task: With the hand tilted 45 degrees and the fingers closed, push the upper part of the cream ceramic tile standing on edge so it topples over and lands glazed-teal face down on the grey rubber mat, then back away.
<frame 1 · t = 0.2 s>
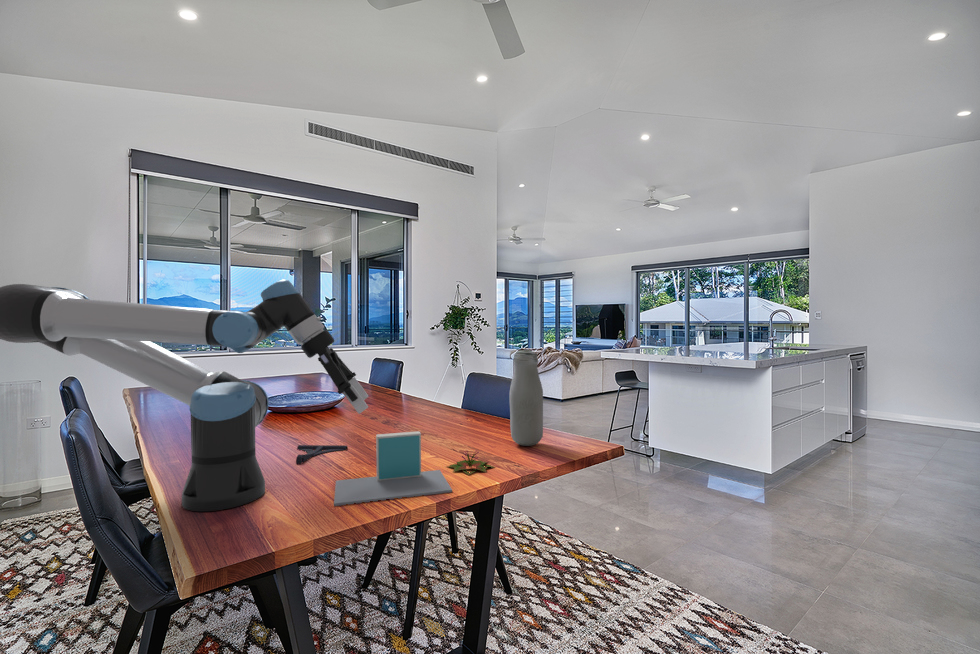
hand: (364, 404, 117), 16 cm above the table, tool tilted 35°, fingers open, 13 cm apart
bracket: (311, 458, 127), on the table
grey bottle: (526, 445, 136), on the table
lily flower: (470, 470, 115), on the table
tile: (398, 476, 107), resting on mat
mat: (392, 487, 102), on the table
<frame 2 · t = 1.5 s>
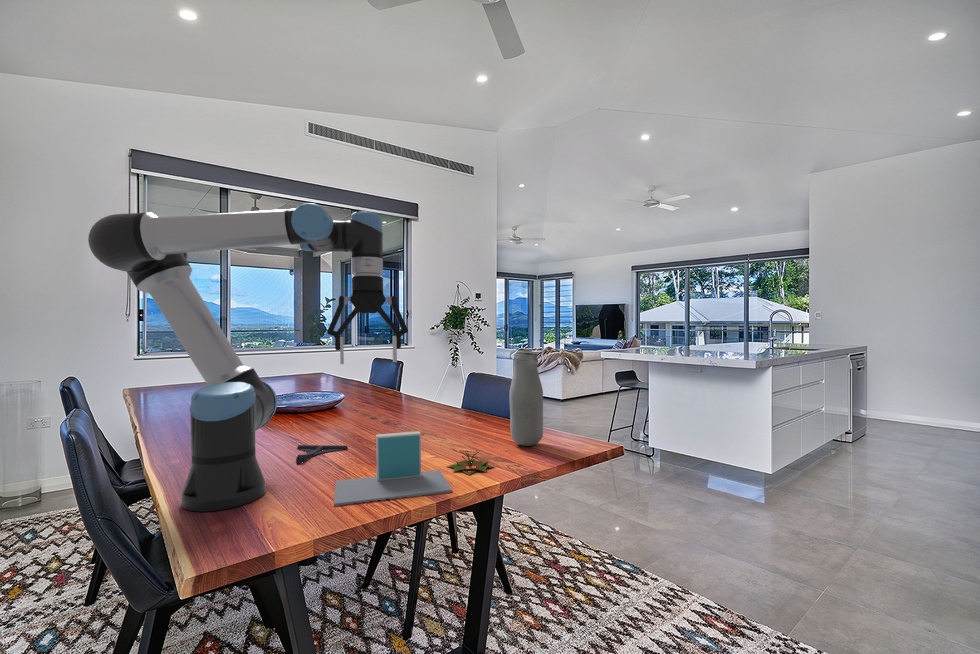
hand: (368, 362, 115), 26 cm above the table, tool pointing down, fingers open, 12 cm apart
nothing on the table moved.
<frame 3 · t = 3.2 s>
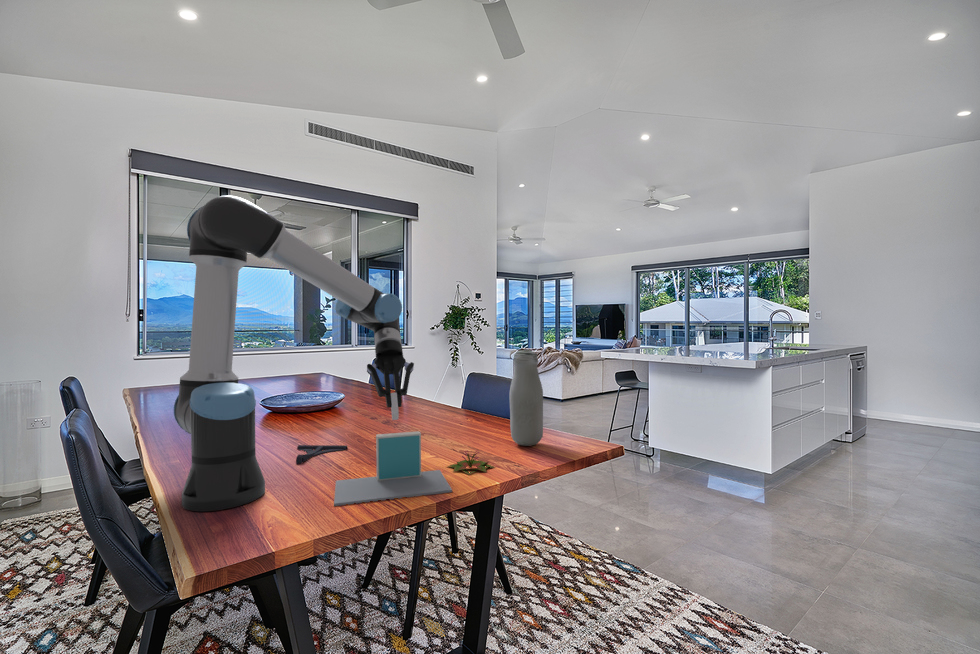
hand: (395, 416, 116), 13 cm above the table, tool tilted 45°, fingers closed
nothing on the table moved.
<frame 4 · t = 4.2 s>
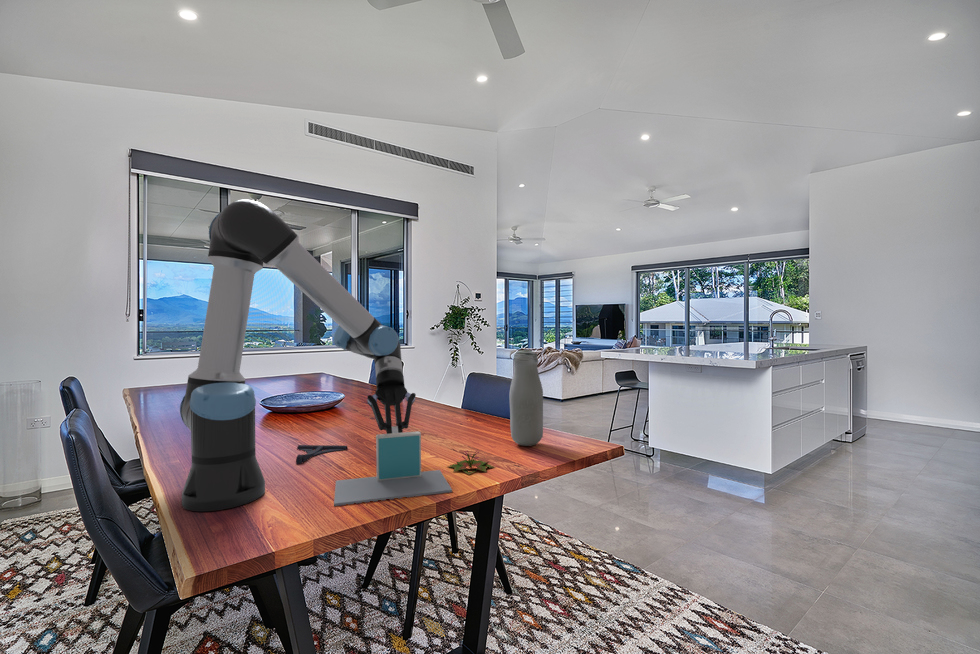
hand: (396, 452, 113), 5 cm above the table, tool tilted 45°, fingers closed
nothing on the table moved.
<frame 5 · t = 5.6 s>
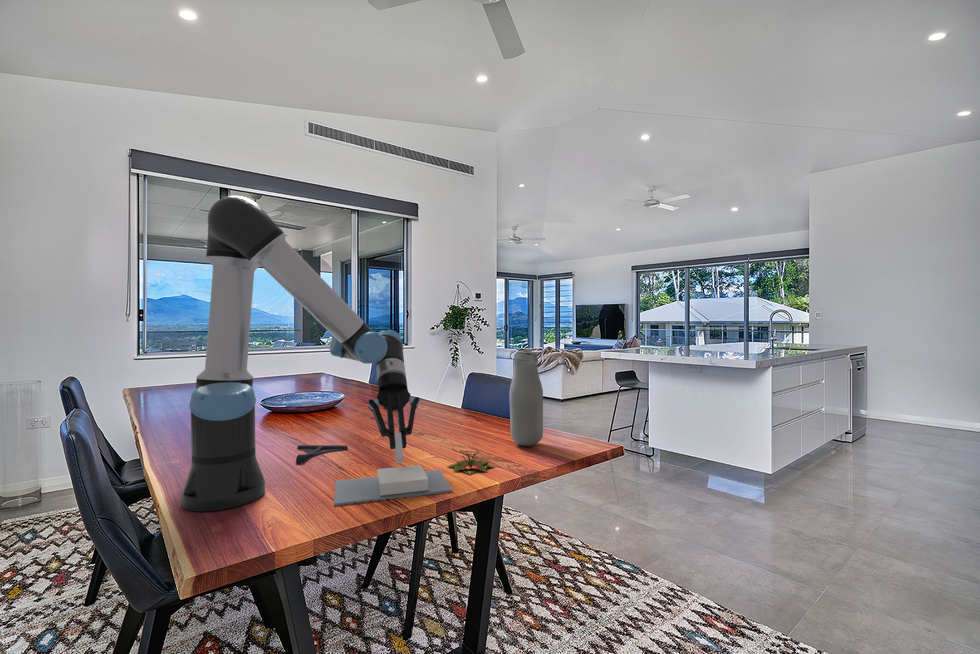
hand: (399, 460, 106), 5 cm above the table, tool tilted 45°, fingers closed
tile: (399, 472, 106), point 2 cm above the table, tilted 90°, touching mat
everything else where it was.
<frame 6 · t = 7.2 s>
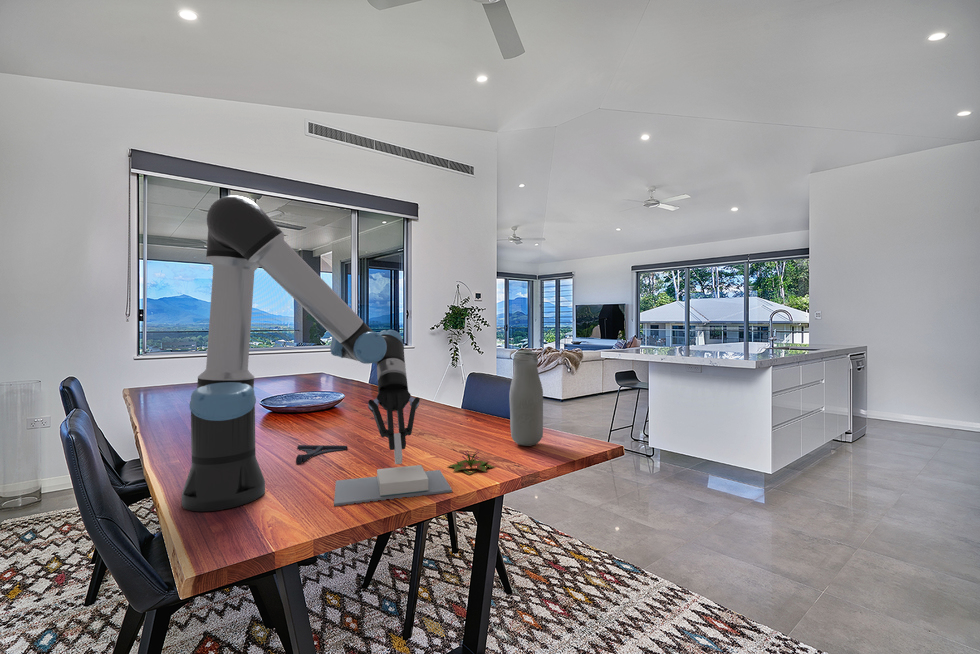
hand: (398, 461, 105), 5 cm above the table, tool tilted 45°, fingers closed
nothing on the table moved.
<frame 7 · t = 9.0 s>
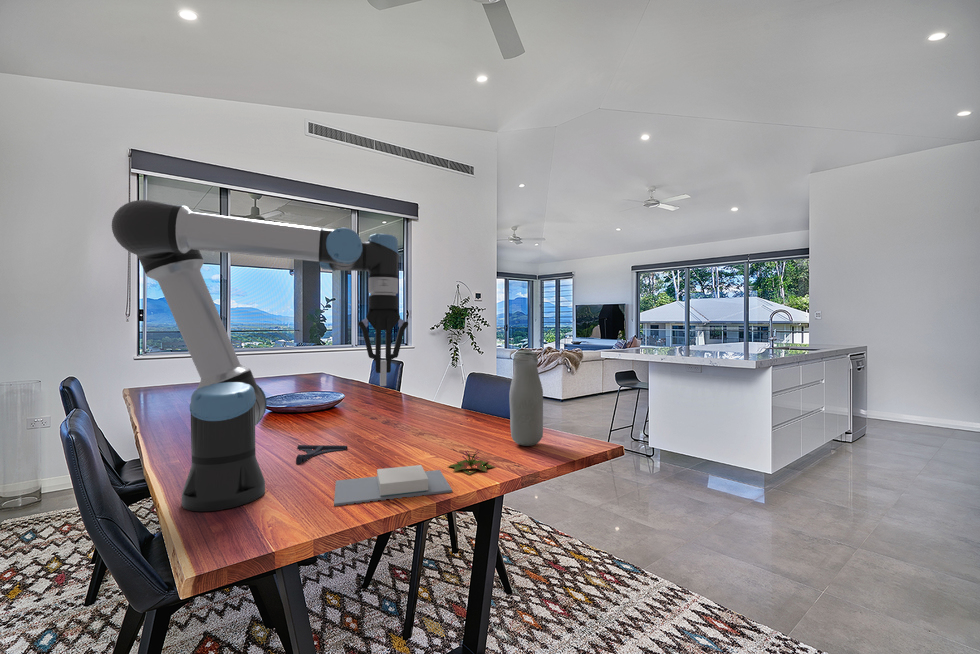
hand: (383, 385, 120), 20 cm above the table, tool pointing down, fingers closed
nothing on the table moved.
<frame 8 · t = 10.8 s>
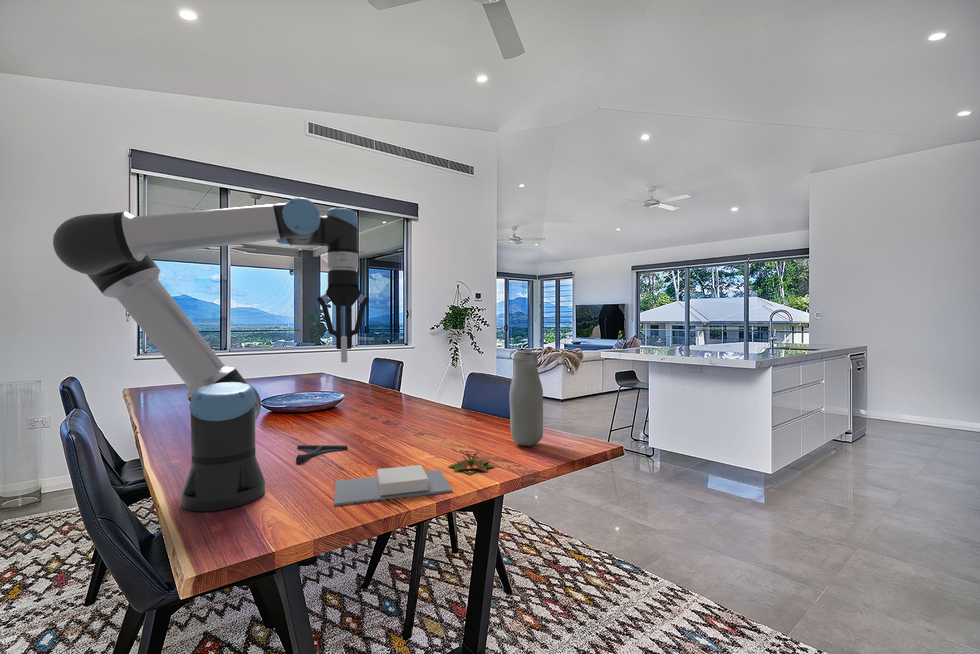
hand: (344, 361, 119), 26 cm above the table, tool pointing down, fingers closed
nothing on the table moved.
at the end: tile tilted 90°; tile inside the target area (4.2 cm from its centre), point 2.0 cm above the table; the gripper is holding nothing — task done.
